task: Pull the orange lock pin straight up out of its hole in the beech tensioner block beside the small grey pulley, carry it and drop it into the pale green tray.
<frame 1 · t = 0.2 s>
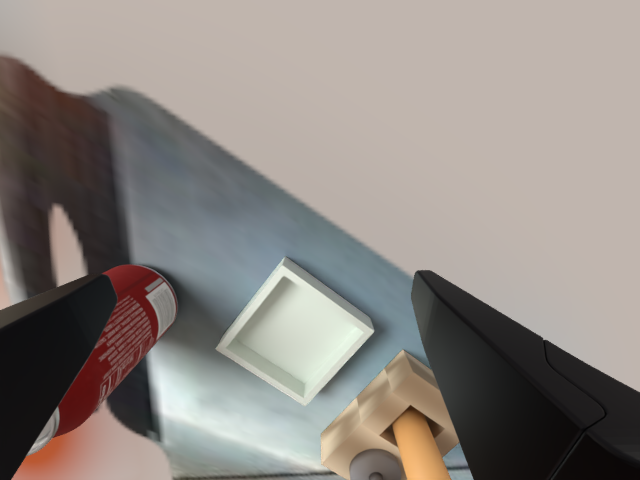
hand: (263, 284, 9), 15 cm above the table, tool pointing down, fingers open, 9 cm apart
tensioner block: (391, 414, 29), on the table
lock pin: (402, 404, 28), resting in tensioner block
soda can: (143, 297, 26), on the table
tray: (296, 326, 26), on the table
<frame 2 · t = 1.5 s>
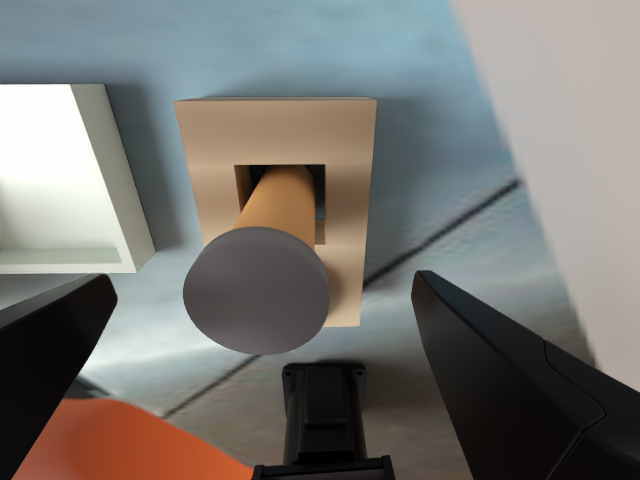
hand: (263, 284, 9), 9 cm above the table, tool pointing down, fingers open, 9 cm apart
tensioner block: (289, 212, 17), on the table
lock pin: (288, 187, 16), resting in tensioner block
tray: (48, 180, 16), on the table
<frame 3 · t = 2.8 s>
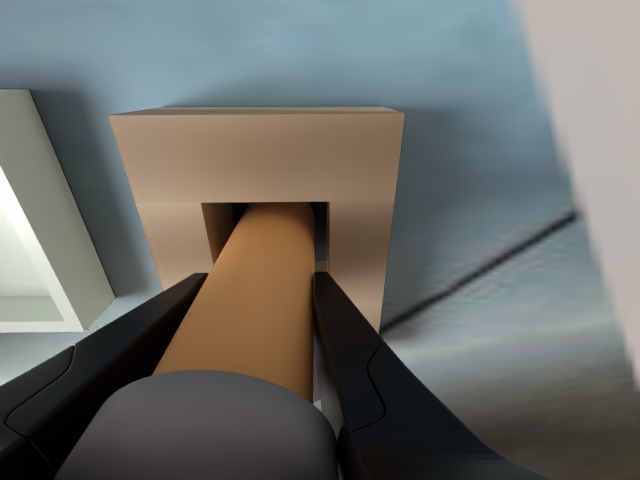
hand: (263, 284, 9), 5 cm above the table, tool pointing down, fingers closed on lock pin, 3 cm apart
tensioner block: (282, 251, 13), on the table
lock pin: (280, 221, 13), resting in tensioner block, touching gripper
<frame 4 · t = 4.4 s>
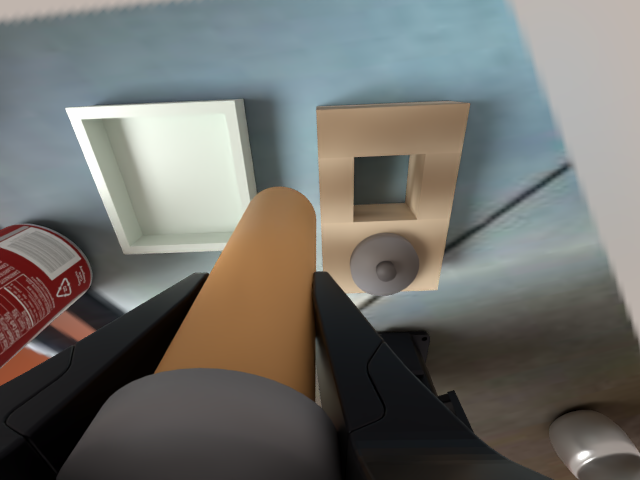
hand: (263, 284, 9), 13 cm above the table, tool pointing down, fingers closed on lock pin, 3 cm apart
tensioner block: (377, 197, 21), on the table
plastic bottle: (570, 417, 33), on the table
lock pin: (281, 220, 13), point 8 cm above the table, touching gripper
soda can: (54, 257, 23), on the table
tray: (186, 176, 20), on the table
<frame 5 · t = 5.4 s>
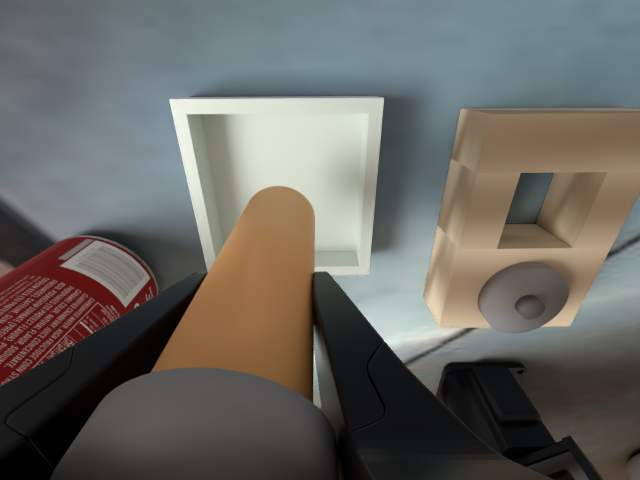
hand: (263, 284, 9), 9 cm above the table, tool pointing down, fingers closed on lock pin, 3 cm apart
tensioner block: (505, 216, 18), on the table
lock pin: (280, 219, 13), point 5 cm above the table, touching gripper
soda can: (112, 274, 20), on the table
tray: (287, 186, 17), on the table
when the fingers open (6 cm above the table, at t = 6.1 s): lock pin drops 1 cm, resting on tray.
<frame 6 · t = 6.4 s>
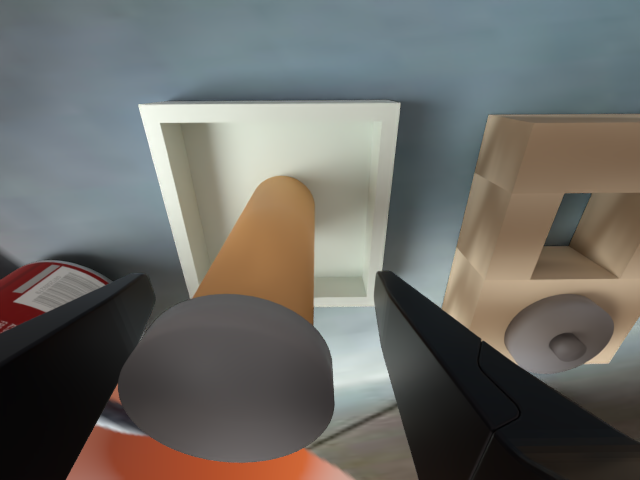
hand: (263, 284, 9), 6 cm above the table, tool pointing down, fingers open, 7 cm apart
tensioner block: (534, 237, 16), on the table
lock pin: (283, 206, 14), point 1 cm above the table, touching tray
soda can: (86, 300, 17), on the table
tray: (284, 204, 14), on the table
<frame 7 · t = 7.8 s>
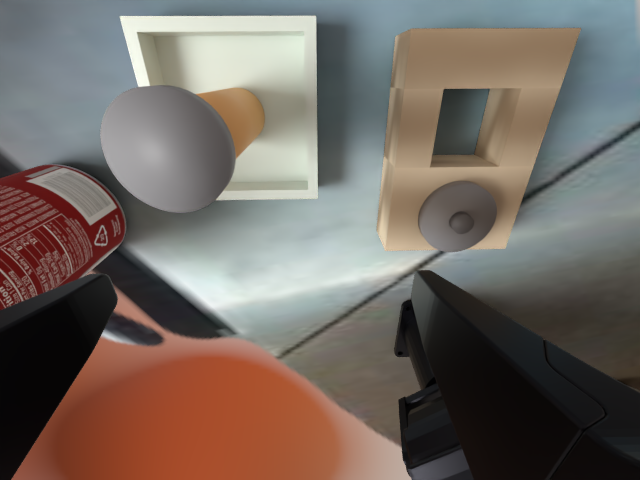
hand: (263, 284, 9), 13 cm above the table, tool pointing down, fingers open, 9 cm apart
tensioner block: (445, 147, 19), on the table
lock pin: (239, 115, 18), point 1 cm above the table, touching tray
soda can: (83, 208, 21), on the table
tray: (241, 115, 18), on the table
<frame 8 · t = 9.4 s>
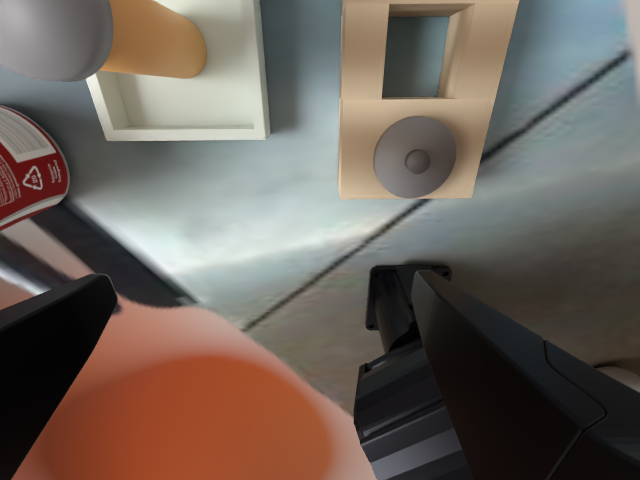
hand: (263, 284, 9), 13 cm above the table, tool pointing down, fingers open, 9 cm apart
tensioner block: (405, 87, 18), on the table
plastic bottle: (591, 376, 31), on the table
lock pin: (179, 48, 16), point 1 cm above the table, touching tray
soda can: (25, 157, 20), on the table
tray: (183, 50, 17), on the table
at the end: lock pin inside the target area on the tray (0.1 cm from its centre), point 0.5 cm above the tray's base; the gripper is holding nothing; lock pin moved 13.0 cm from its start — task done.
